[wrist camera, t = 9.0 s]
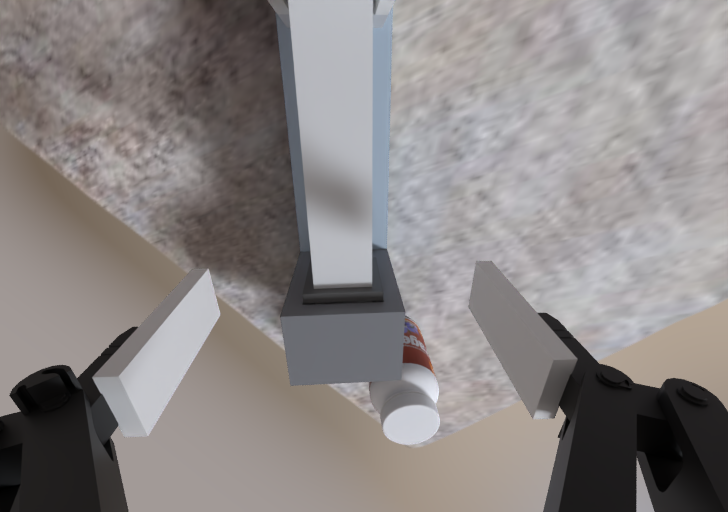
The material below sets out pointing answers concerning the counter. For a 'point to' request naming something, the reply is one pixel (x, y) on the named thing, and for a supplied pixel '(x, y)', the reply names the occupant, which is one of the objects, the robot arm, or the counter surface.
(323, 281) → the tube
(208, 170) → the counter surface
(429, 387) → the pill bottle
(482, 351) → the counter surface
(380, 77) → the mounting board
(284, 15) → the sleeve
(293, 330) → the socket
